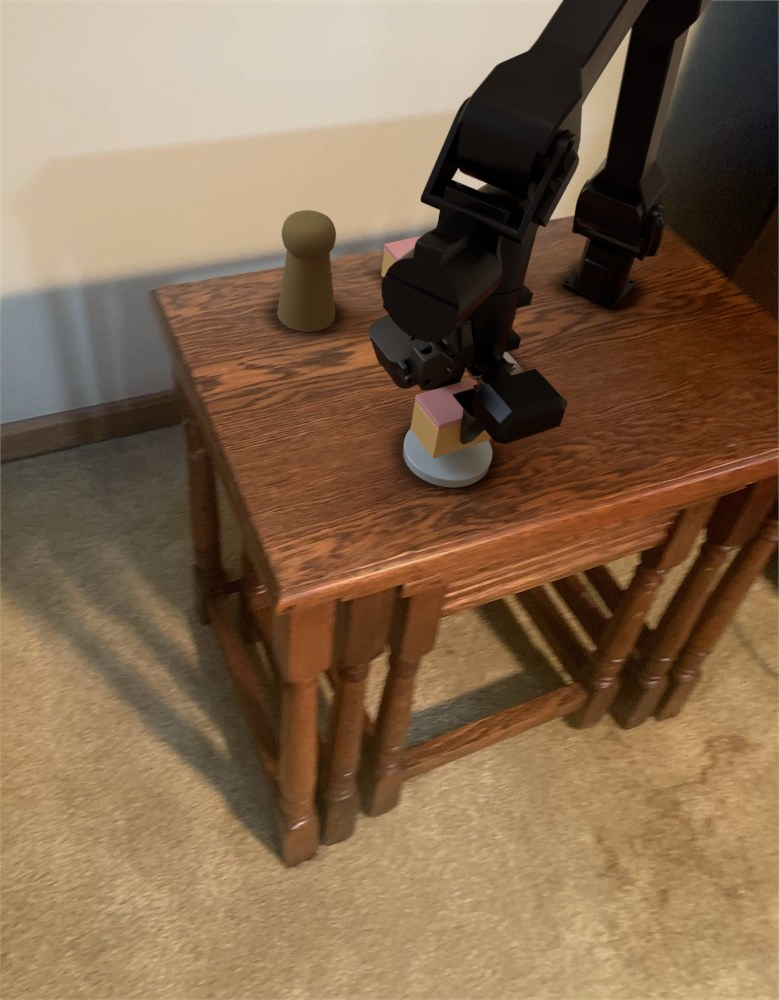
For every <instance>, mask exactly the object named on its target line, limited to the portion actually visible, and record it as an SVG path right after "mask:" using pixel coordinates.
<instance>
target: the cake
mask: <svg viewBox="0 0 779 1000" xmlns="http://www.w3.org/2000/svg"><path fill="white" fill-rule="evenodd" d="M421 236H422V235H419V236H416V237H411V238H405V239H401V240H400V239H399V240H396V241H391V242H386V243H384V245H383V248H384V249H383V255H382V256H383V257H382V266H381V277H382V278H383V277H385V274H386V272H387V271H388V269H389V267H390V266H391V265H392V264H394V263H395V262H396V261H397V260H398V259H400V258H401V257H402V256H403V255H405V254H406V253H407V252H409V251H410V250H411V249H412V248H414V247H415V243H416V241H417V239H419V238H420V237H421Z"/></svg>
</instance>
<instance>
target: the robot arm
mask: <svg viewBox="0 0 779 1000" xmlns="http://www.w3.org/2000/svg"><path fill="white" fill-rule="evenodd" d="M712 1H713V0H562V1H561V2H560V4H559V5H558V7H557V8H556V10H555V11H554V13H553V14H552V16H551V17H550V19H549V20H548V22H547V24H546V25H545V27H544V28H543V30H542V31H541V32H540V34H539V36H538V37H537V39H536V40H535V41H534V42H533V44H532V45H531V46H530V47H529V49H528V50H527V51H524V52H522V53H520V54H517V55H515V56H513V57H510V58H508V59H506V60H503V61H502V62H499V63H498V64H496V65H495V66H494V67H493V68H492V69H491V70H490V72H489V73H488V74H487V75H486V77H485V78H484V79H483V80H482V82H481V83H480V84H479V86H477V87H476V89H474V91H473V93H472V94H471V95H470V96H468V97H467V98H466V99H464V100H463V102H462V103H461V105H460V106H459V108H458V110H457V112H456V114H455V116H454V118H453V121H452V123H451V125H450V127H449V130H448V133H447V135H446V137H445V139H444V142H443V143H442V146H441V148H440V150H439V153H438V155H437V158H436V160H435V163H434V165H433V167H432V169H431V172H430V175H429V177H428V179H427V181H426V183H425V186H424V189H423V190H422V193H421V195H420V202H421V204H424V205H427V206H429V207H431V208H434V209H436V210H438V219H437V222H436V223H437V224H436V227H434V228H433V229H431V230H430V231H427V232H425V233H423V234H422V235H420V236H421V237H420V238H419V239H417V241H416V243H415V247H414V248H412V249H411V250H410V251H409V252H407V253H406V254H405V255H403V256H402V257H401V258H400V259H398V260H397V261H396V262H395V263H394V264H392V265H391V266H390V267H389V269H388V271H387V272H386V274H385V277H382V279H381V286H380V287H381V288H380V289H381V298H382V301H383V302H382V308H383V309H384V311H386V312H387V314H386V315H384V316H381V318H379V319H377V320H375V321H374V322H373V323H371V324H370V326H369V327H368V329H367V330H368V331H367V332H368V336H369V340H370V342H371V345H372V348H373V351H374V355H375V358H376V360H377V362H378V364H379V365H380V366H381V367H382V368H383V370H385V372H386V373H387V375H388V376H389V377H390V378H391V380H392V382H393V383H394V384H395V385H396V387H398V388H399V389H411V388H413V387H415V386H418V387H419V389H420V390H421V391H424V392H428V391H431V390H435V389H438V388H442V387H445V386H448V385H452V384H455V383H459V382H462V379H463V377H464V374H465V373H467V375H468V376H469V377H470V379H473V380H477V384H478V385H477V384H476V385H474V386H473V388H472V389H469V390H465V391H462V392H458V393H455V394H453V397H454V398H455V399H456V400H457V402H458V403H459V404H460V405H461V407H462V408H463V414H462V421H461V429H460V442H461V443H462V444H463V445H464V444H467V443H470V442H472V441H474V440H475V439H476V438H477V437H478V436H479V435H480V434H481V433H482V432H483V431H484V430H485V431H486V432H487V433H488V434H489V435H490V437H491V440H493V442H494V443H498V444H501V445H508V444H511V443H513V442H517V441H520V440H522V439H527V438H529V437H532V436H535V435H538V434H540V433H543V432H547V431H550V430H553V429H556V428H559V427H561V425H562V421H563V418H564V415H565V413H566V409H567V406H568V401H567V399H566V398H565V397H564V396H563V395H562V394H561V393H560V392H559V391H558V390H557V389H556V387H554V386H553V385H552V383H551V382H550V381H548V379H547V378H546V377H545V376H544V375H543V374H542V373H541V372H540V371H539V370H538V369H537V368H532V369H528V370H525V369H524V368H523V367H522V365H520V364H519V363H518V364H519V365H518V364H516V363H509V362H508V361H507V360H506V359H505V358H504V357H503V356H504V353H505V352H508V353H509V352H511V351H515V350H518V349H519V347H520V344H521V341H522V338H521V336H519V335H520V334H518V333H517V332H516V331H515V330H514V329H513V326H514V323H515V319H516V315H517V311H518V309H521V308H524V307H528V306H531V303H532V300H533V297H534V293H533V292H532V291H531V290H530V289H529V288H528V287H527V286H526V285H525V284H524V283H525V280H526V275H527V272H528V268H529V264H530V260H531V257H532V252H533V249H534V244H535V241H536V237H537V232H538V229H539V228H540V227H543V228H546V227H547V226H548V224H549V222H550V220H551V218H552V216H553V214H554V212H555V210H556V209H557V207H558V205H559V203H560V201H561V200H562V197H563V195H564V194H565V191H566V190H567V188H568V186H569V184H570V182H571V180H572V178H573V177H574V175H575V173H576V172H577V169H578V167H579V164H580V155H579V154H578V153H579V149H580V145H581V139H582V135H581V134H582V119H583V117H582V116H583V105H584V104H585V102H586V100H587V98H588V96H589V94H590V93H591V91H592V90H593V88H594V87H595V85H596V84H597V82H598V81H599V79H600V77H601V76H602V75H603V72H604V71H605V69H606V68H607V66H608V65H609V63H610V62H611V60H612V58H613V57H614V55H615V54H616V52H617V51H618V49H619V47H620V46H621V44H622V43H623V41H624V40H625V38H626V37H627V35H628V33H629V32H630V33H629V38H628V42H627V43H628V44H627V48H626V53H625V59H624V64H623V69H622V74H621V79H620V84H619V89H618V95H617V99H616V106H615V110H614V114H613V115H614V116H613V120H612V125H611V131H610V136H609V142H608V146H607V150H606V151H607V152H606V157H605V158H604V159H603V160H602V161H601V163H600V164H599V166H598V167H597V169H596V170H595V171H594V172H593V174H592V175H591V176H590V178H588V179H587V180H586V181H585V183H584V184H583V186H582V188H581V189H580V192H579V193H578V196H577V198H576V199H577V200H576V203H575V209H574V213H573V214H574V215H573V222H572V229H571V233H573V234H574V235H579V236H582V237H585V238H586V240H585V242H584V246H583V249H582V252H581V256H580V258H579V259H580V260H579V263H578V264H577V265H578V266H577V268H576V269H575V270H574V271H572V272H571V273H570V275H568V276H567V277H566V278H565V279H564V280H562V284H561V285H562V287H563V288H565V289H567V290H569V291H571V292H573V293H576V294H578V295H580V296H582V297H584V298H586V299H588V300H590V301H593V302H595V303H597V304H599V305H601V306H603V307H606V308H608V309H614V308H615V307H616V306H617V305H618V304H619V303H620V302H621V301H622V300H623V299H624V298H625V297H626V296H627V295H628V294H629V293H630V291H631V290H632V289H634V287H635V285H636V281H635V280H633V279H632V278H630V277H629V276H630V274H631V271H632V268H633V266H634V263H635V260H636V259H637V260H638V261H640V262H643V261H644V260H645V259H646V257H647V258H649V257H655V256H656V255H657V253H658V251H659V248H660V245H661V242H662V240H663V235H664V229H665V227H666V211H665V210H666V209H665V208H666V207H665V206H663V204H662V203H663V199H664V194H665V190H666V185H667V182H666V180H665V177H664V175H663V173H662V171H661V169H660V167H659V164H658V162H657V160H656V159H657V155H658V151H659V147H660V143H661V139H662V135H663V131H664V128H665V124H666V121H667V116H668V112H669V108H670V104H671V100H672V97H673V93H674V90H675V85H676V81H677V77H678V75H679V70H680V66H681V62H682V59H683V55H684V51H685V47H686V43H687V40H688V35H689V31H690V29H691V27H692V26H693V25H694V24H695V23H696V22H697V21H698V20H699V18H700V17H701V15H702V14H703V13H704V11H705V10H706V9H707V7H708V6H709V5H710V3H711V2H712ZM458 170H459V172H460V173H461V174H463V175H465V176H468V177H469V178H472V179H474V180H477V181H480V182H482V183H485V184H483V185H482V186H479V188H474V187H472V186H469V185H467V184H464V183H462V182H459V181H458V180H454V179H453V178H454V177H455V175H456V174H457V172H458Z"/></svg>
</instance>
